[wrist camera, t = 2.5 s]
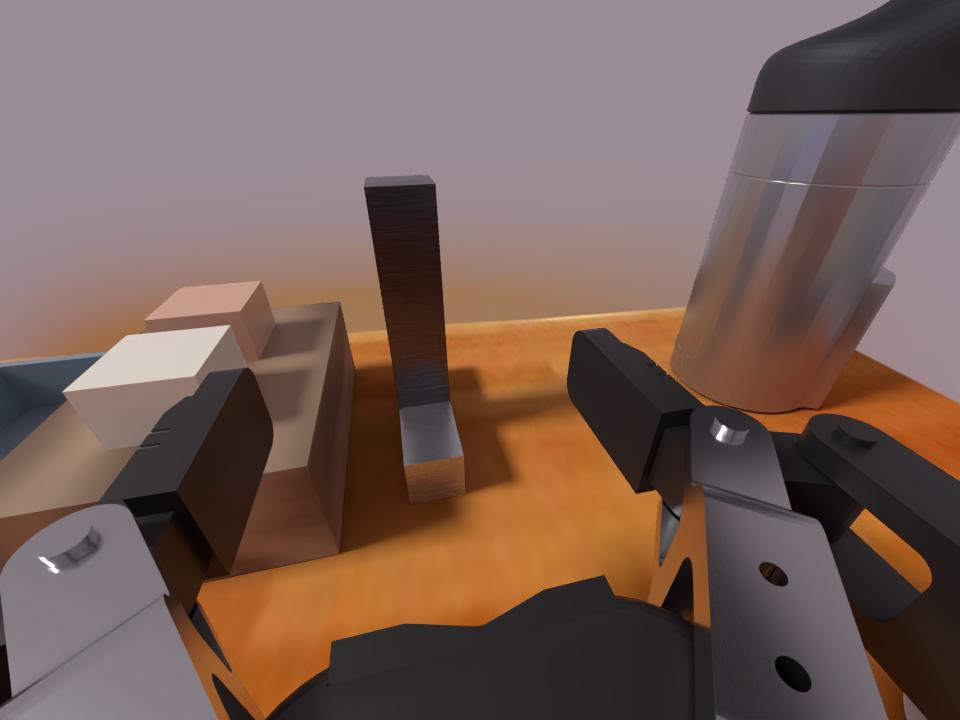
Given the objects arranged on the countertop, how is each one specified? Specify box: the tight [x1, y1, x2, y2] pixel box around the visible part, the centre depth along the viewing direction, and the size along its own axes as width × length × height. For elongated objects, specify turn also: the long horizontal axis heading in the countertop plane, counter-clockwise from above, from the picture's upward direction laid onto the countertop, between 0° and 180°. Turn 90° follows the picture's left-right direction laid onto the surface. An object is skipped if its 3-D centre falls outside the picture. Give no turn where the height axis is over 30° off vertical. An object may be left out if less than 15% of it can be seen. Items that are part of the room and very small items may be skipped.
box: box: [0, 351, 108, 461], centre depth 20 cm, size 10×16×4 cm, turn 13°
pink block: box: [144, 281, 276, 361], centre depth 22 cm, size 4×4×3 cm
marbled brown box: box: [0, 302, 355, 582], centre depth 22 cm, size 12×16×6 cm
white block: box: [62, 325, 248, 450], centre depth 17 cm, size 4×4×3 cm
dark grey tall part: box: [364, 175, 466, 504], centre depth 22 cm, size 3×12×15 cm, turn 13°
